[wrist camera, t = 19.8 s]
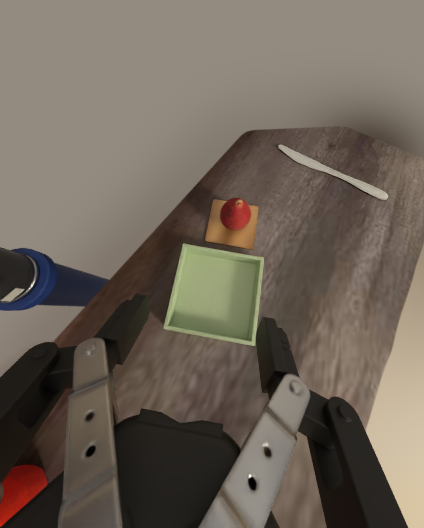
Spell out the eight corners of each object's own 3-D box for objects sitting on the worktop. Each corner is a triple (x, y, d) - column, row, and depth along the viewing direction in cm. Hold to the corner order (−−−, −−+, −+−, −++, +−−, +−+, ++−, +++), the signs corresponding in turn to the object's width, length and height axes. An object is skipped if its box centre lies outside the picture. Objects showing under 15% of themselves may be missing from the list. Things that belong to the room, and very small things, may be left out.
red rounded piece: (225, 240, 37) (230, 221, 29) (214, 216, 38) (216, 192, 30) (251, 230, 37) (262, 209, 29) (239, 208, 38) (247, 182, 31)
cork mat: (204, 241, 37) (204, 240, 36) (213, 200, 39) (213, 198, 39) (252, 249, 37) (253, 249, 36) (258, 207, 39) (258, 206, 39)
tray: (167, 327, 32) (163, 328, 29) (185, 249, 36) (183, 243, 33) (250, 342, 32) (254, 346, 29) (259, 262, 36) (264, 257, 33)
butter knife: (385, 203, 39) (390, 193, 40) (275, 150, 43) (281, 141, 43) (382, 204, 40) (387, 194, 40) (274, 152, 43) (280, 143, 44)
